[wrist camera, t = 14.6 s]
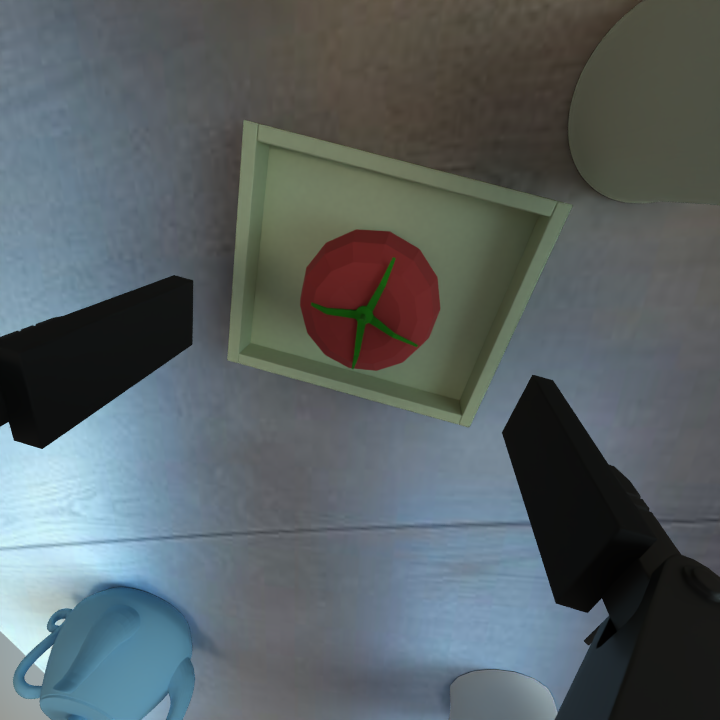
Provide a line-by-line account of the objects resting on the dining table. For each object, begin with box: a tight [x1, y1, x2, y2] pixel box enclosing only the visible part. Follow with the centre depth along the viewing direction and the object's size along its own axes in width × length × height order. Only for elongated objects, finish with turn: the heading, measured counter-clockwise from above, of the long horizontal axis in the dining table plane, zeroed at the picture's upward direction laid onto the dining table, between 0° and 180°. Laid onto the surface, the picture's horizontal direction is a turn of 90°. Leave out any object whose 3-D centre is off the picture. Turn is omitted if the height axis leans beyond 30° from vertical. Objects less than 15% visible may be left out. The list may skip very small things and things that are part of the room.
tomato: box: [300, 229, 440, 371], centre depth 20 cm, size 8×8×8 cm
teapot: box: [13, 587, 195, 720], centre depth 43 cm, size 17×19×12 cm
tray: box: [227, 120, 572, 427], centre depth 23 cm, size 18×15×3 cm
